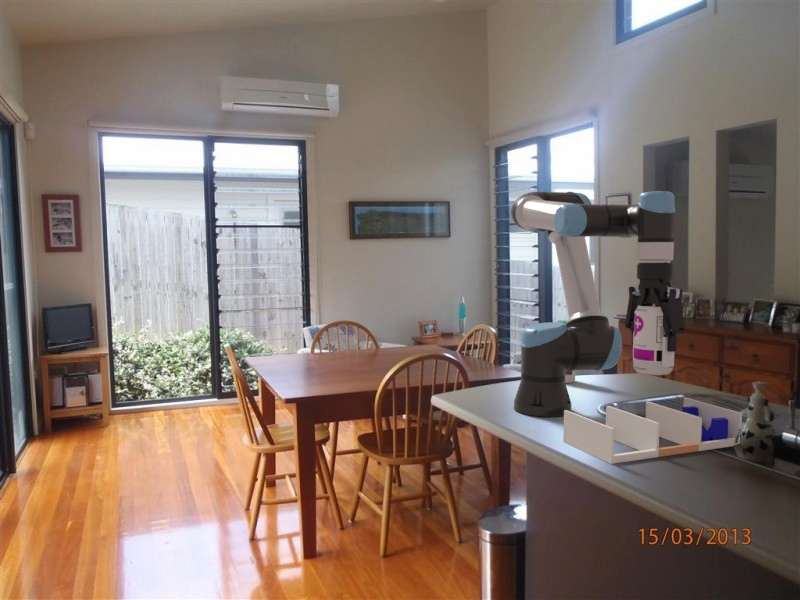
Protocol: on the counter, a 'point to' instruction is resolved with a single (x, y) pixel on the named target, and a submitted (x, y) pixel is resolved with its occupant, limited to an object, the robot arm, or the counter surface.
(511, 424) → the counter surface
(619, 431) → the can rack
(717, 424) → the blue notched cradle block
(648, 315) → the supplement can
